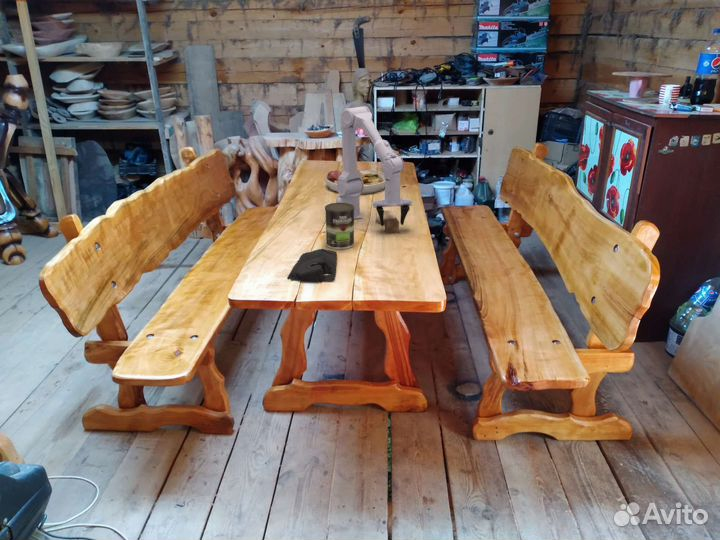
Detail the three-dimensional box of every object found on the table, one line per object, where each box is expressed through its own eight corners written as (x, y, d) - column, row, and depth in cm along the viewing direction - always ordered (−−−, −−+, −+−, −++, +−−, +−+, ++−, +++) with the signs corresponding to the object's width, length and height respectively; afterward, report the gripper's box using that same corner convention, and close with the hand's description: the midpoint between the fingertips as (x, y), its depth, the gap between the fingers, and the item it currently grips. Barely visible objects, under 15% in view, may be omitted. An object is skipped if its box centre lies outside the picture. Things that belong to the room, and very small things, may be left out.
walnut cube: (387, 233, 208) (387, 222, 207) (384, 229, 212) (385, 218, 211) (398, 233, 209) (399, 221, 207) (396, 229, 213) (396, 218, 211)
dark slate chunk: (344, 257, 189) (344, 244, 187) (333, 285, 169) (333, 271, 167) (300, 255, 191) (299, 242, 189) (284, 283, 171) (283, 269, 169)
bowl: (387, 179, 280) (387, 163, 277) (388, 196, 253) (389, 179, 250) (328, 179, 281) (327, 164, 278) (323, 196, 254) (323, 179, 250)
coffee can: (357, 247, 196) (357, 209, 190) (329, 250, 193) (328, 212, 187) (350, 237, 205) (350, 201, 199) (323, 240, 202) (322, 203, 196)
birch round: (377, 225, 216) (378, 217, 215) (374, 219, 224) (374, 211, 222) (398, 225, 218) (398, 216, 216) (394, 218, 225) (394, 210, 223)
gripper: (375, 193, 199) (375, 229, 205) (414, 191, 201) (413, 227, 207) (371, 188, 206) (371, 223, 211) (409, 186, 208) (408, 220, 213)
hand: (392, 224), depth 210 cm, fingers open, 7 cm apart
